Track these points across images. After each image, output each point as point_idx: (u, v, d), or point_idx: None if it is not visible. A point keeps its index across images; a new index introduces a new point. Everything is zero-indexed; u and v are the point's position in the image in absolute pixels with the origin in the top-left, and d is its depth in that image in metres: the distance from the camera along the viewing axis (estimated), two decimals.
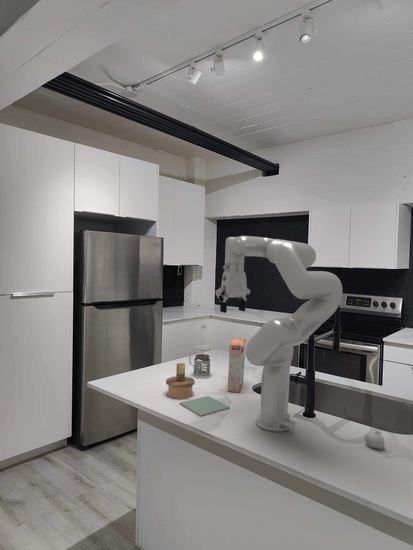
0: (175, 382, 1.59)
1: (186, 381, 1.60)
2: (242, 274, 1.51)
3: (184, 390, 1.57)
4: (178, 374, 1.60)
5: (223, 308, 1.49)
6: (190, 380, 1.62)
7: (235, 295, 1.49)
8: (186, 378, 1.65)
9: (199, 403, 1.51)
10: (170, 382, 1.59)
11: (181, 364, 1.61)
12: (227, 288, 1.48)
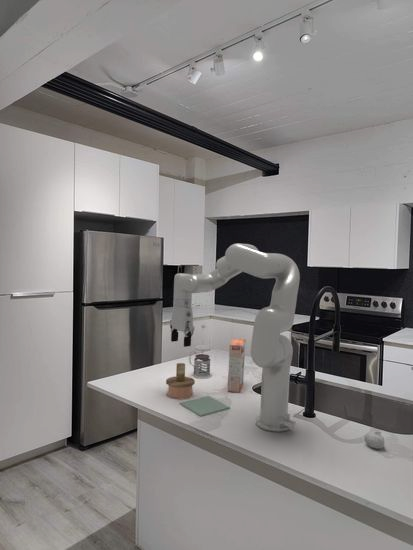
0: (175, 382, 1.59)
1: (186, 381, 1.60)
2: None
3: (184, 390, 1.57)
4: (178, 374, 1.60)
5: None
6: (190, 380, 1.62)
7: None
8: (186, 378, 1.65)
9: (199, 403, 1.51)
10: (170, 382, 1.59)
11: (181, 364, 1.61)
12: (192, 322, 1.58)
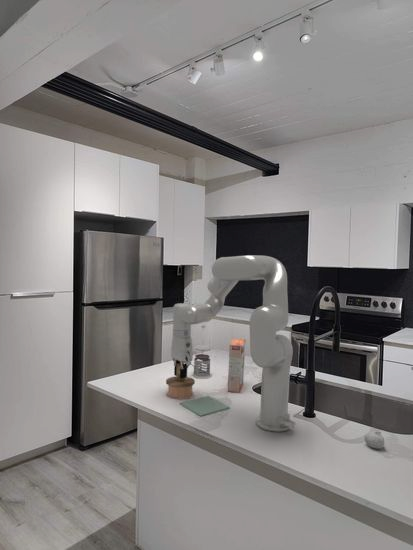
0: (175, 382, 1.59)
1: (186, 381, 1.60)
2: None
3: (184, 390, 1.57)
4: (178, 374, 1.60)
5: (185, 374, 1.60)
6: (190, 380, 1.62)
7: None
8: (186, 378, 1.65)
9: (199, 403, 1.51)
10: (170, 382, 1.59)
11: None
12: (192, 353, 1.58)
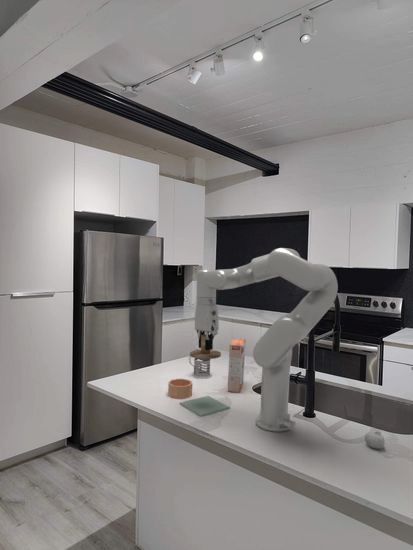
0: (200, 354, 1.47)
1: (212, 354, 1.48)
2: None
3: (184, 390, 1.57)
4: (203, 346, 1.47)
5: None
6: (216, 352, 1.50)
7: None
8: (211, 351, 1.52)
9: (199, 403, 1.51)
10: (195, 354, 1.46)
11: None
12: (218, 322, 1.46)
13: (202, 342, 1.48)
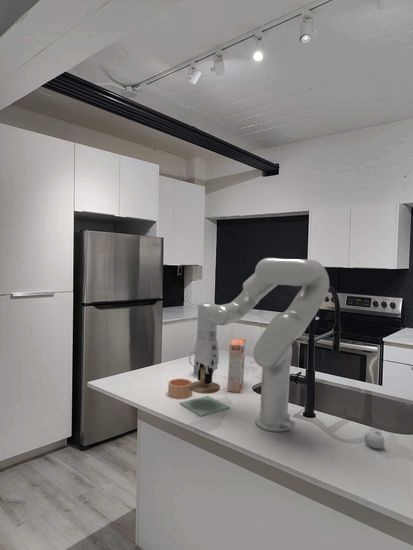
0: (199, 388, 1.47)
1: (211, 387, 1.48)
2: None
3: (184, 390, 1.57)
4: (202, 379, 1.48)
5: None
6: (215, 385, 1.50)
7: None
8: (210, 383, 1.52)
9: (199, 403, 1.51)
10: (194, 388, 1.47)
11: None
12: (218, 356, 1.46)
13: (201, 375, 1.48)
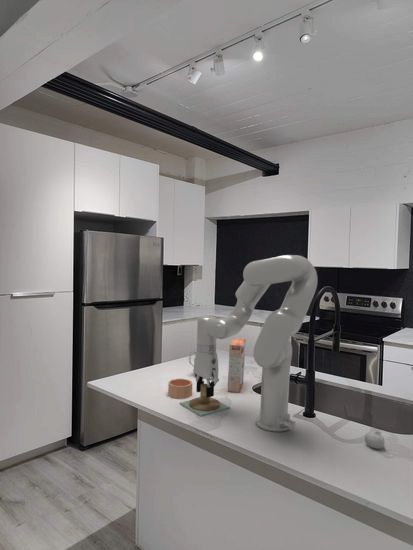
0: (199, 405, 1.47)
1: (211, 404, 1.48)
2: None
3: (184, 390, 1.57)
4: (202, 396, 1.48)
5: None
6: (215, 402, 1.50)
7: None
8: (210, 400, 1.53)
9: None
10: (194, 405, 1.47)
11: (205, 385, 1.49)
12: (217, 369, 1.46)
13: (201, 392, 1.48)
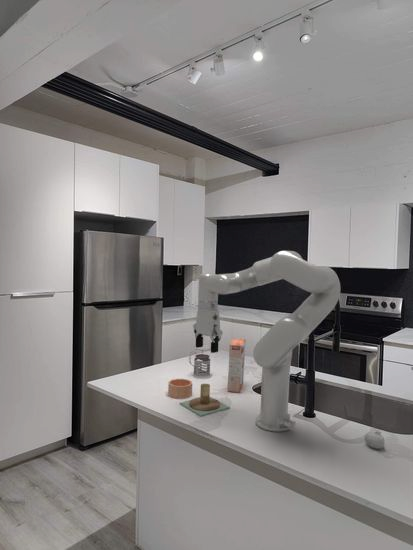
0: (199, 405, 1.47)
1: (211, 404, 1.48)
2: None
3: (184, 390, 1.57)
4: (202, 396, 1.48)
5: None
6: (215, 402, 1.50)
7: None
8: (210, 400, 1.53)
9: None
10: (194, 405, 1.47)
11: (206, 385, 1.49)
12: (219, 326, 1.45)
13: (202, 392, 1.48)
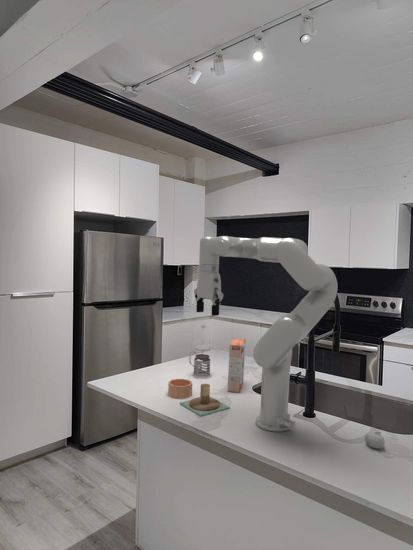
0: (199, 405, 1.47)
1: (211, 404, 1.48)
2: None
3: (184, 390, 1.57)
4: (202, 396, 1.48)
5: None
6: (215, 402, 1.50)
7: None
8: (210, 400, 1.53)
9: None
10: (194, 405, 1.47)
11: (206, 385, 1.49)
12: (220, 290, 1.45)
13: (202, 392, 1.48)
